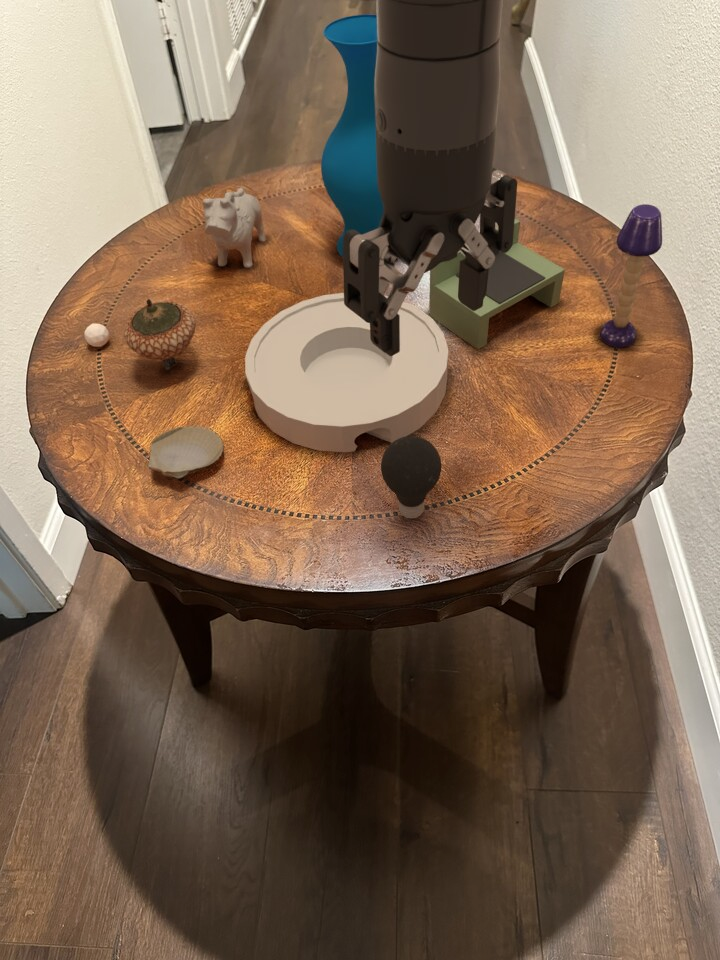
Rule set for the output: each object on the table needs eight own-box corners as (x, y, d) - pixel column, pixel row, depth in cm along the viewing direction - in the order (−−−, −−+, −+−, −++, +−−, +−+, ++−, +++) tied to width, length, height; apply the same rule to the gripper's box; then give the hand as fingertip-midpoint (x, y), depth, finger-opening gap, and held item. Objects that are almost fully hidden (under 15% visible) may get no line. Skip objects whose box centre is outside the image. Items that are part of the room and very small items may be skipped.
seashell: (235, 459, 83) (178, 424, 84) (238, 440, 80) (179, 404, 82) (188, 502, 77) (127, 464, 79) (190, 483, 75) (128, 444, 76)
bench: (508, 272, 99) (514, 217, 93) (559, 303, 95) (569, 247, 89) (428, 315, 95) (429, 260, 88) (477, 350, 90) (482, 294, 84)
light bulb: (374, 526, 73) (369, 459, 66) (395, 485, 77) (393, 416, 69) (428, 543, 72) (429, 475, 64) (447, 500, 75) (450, 431, 67)
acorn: (194, 337, 94) (175, 269, 87) (214, 375, 89) (196, 307, 82) (131, 358, 92) (105, 290, 85) (147, 398, 87) (122, 330, 80)
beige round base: (384, 481, 77) (382, 455, 74) (210, 408, 86) (202, 382, 83) (480, 352, 89) (483, 325, 86) (320, 299, 98) (317, 273, 95)
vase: (418, 224, 108) (419, 7, 87) (410, 275, 100) (408, 49, 79) (337, 222, 110) (318, 9, 89) (322, 272, 102) (297, 50, 81)
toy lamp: (627, 354, 88) (663, 226, 75) (589, 342, 89) (617, 215, 77) (640, 331, 90) (677, 203, 77) (603, 320, 92) (633, 193, 79)
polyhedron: (113, 336, 95) (106, 317, 93) (110, 351, 94) (102, 332, 91) (91, 338, 95) (83, 319, 93) (87, 353, 94) (79, 334, 91)
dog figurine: (207, 282, 102) (189, 210, 94) (235, 230, 110) (220, 160, 102) (244, 284, 101) (229, 212, 93) (269, 232, 109) (257, 162, 101)
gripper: (383, 178, 42) (389, 392, 54) (561, 101, 47) (529, 312, 59) (307, 133, 46) (328, 341, 58) (478, 66, 51) (464, 270, 63)
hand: (429, 326), depth 58 cm, fingers open, 8 cm apart
